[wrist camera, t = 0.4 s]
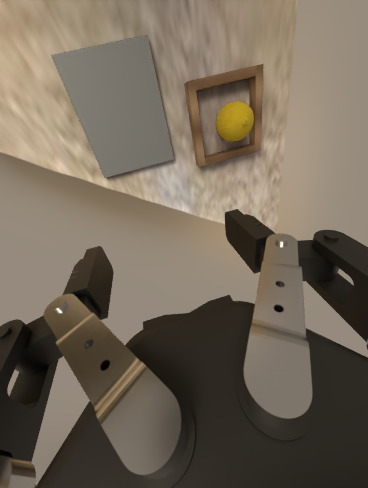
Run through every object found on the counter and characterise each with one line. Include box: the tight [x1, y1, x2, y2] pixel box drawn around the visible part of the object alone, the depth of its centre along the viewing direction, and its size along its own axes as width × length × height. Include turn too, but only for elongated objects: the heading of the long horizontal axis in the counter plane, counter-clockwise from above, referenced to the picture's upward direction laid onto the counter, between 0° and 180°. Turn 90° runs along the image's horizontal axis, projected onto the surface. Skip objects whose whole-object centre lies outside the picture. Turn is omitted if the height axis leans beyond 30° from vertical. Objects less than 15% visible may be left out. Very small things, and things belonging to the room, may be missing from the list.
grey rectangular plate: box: [51, 35, 174, 178], centre depth 30 cm, size 16×13×1 cm
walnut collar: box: [184, 64, 263, 167], centre depth 33 cm, size 12×12×2 cm
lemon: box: [216, 101, 254, 142], centre depth 31 cm, size 6×6×8 cm
